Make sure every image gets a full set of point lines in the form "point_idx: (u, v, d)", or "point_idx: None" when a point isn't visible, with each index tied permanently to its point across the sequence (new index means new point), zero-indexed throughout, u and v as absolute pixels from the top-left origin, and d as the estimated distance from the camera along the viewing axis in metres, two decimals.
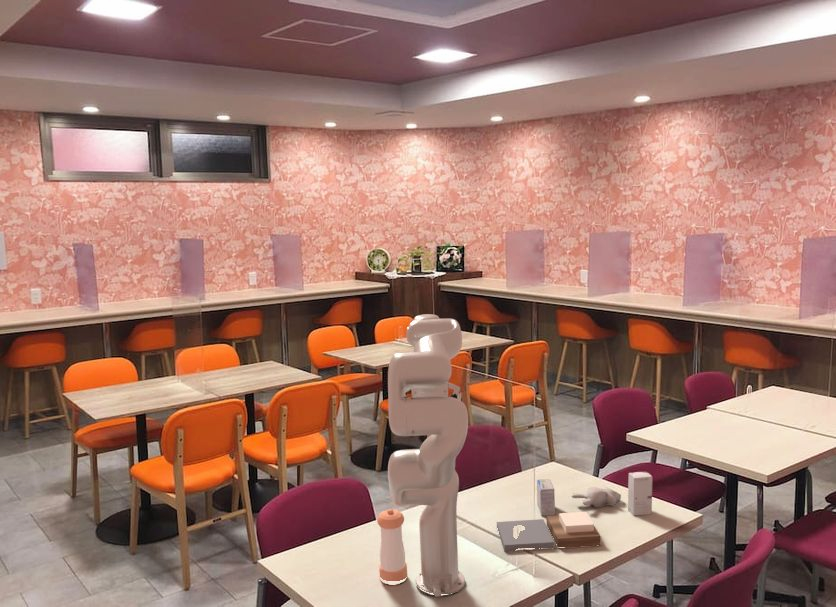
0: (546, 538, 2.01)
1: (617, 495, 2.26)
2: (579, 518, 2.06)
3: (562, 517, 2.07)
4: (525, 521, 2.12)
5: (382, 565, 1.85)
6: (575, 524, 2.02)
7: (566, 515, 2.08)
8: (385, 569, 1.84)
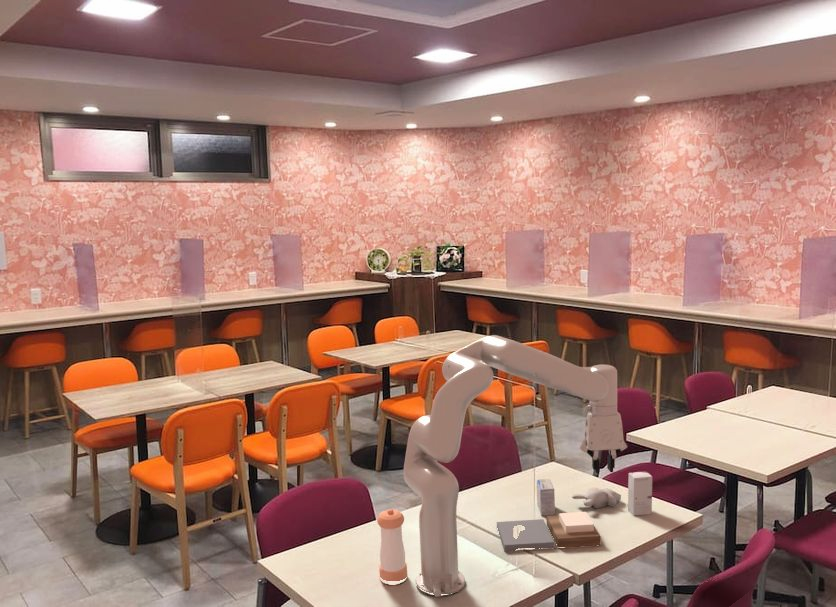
0: (546, 538, 2.01)
1: (617, 495, 2.25)
2: (579, 518, 2.06)
3: (562, 517, 2.07)
4: (525, 521, 2.12)
5: (382, 565, 1.85)
6: (575, 524, 2.02)
7: (566, 515, 2.08)
8: (385, 569, 1.84)
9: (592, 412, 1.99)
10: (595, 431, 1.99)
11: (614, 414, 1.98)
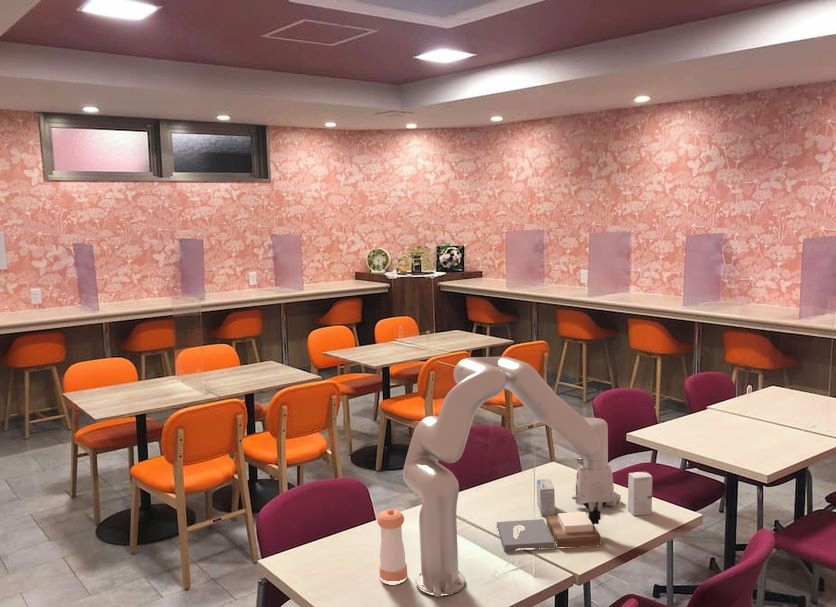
0: (546, 538, 2.01)
1: (617, 496, 2.25)
2: (578, 518, 2.06)
3: (561, 517, 2.07)
4: (525, 521, 2.12)
5: (382, 565, 1.85)
6: (574, 524, 2.02)
7: (565, 515, 2.08)
8: (385, 569, 1.84)
9: (583, 465, 2.02)
10: (586, 484, 2.01)
11: (605, 468, 2.00)
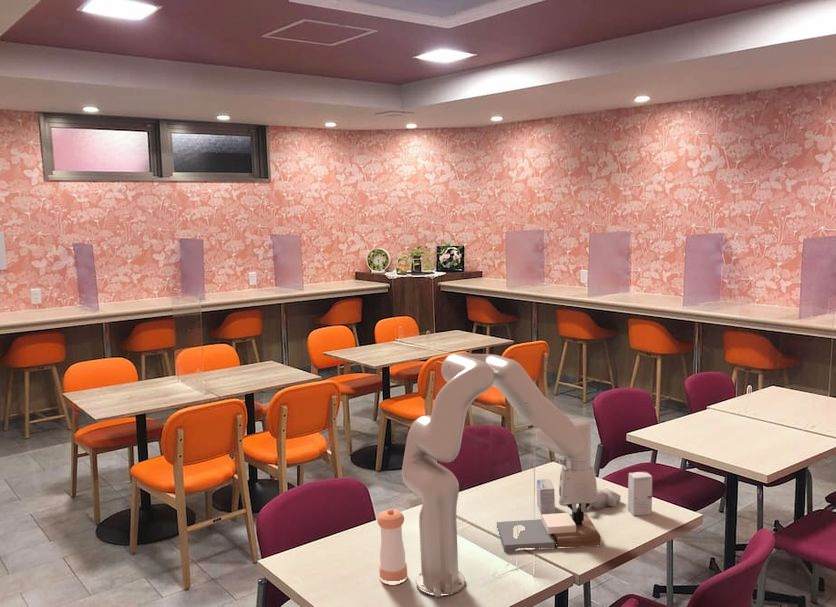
0: (546, 538, 2.01)
1: (617, 496, 2.25)
2: (561, 519, 2.05)
3: (544, 518, 2.06)
4: (525, 521, 2.12)
5: (382, 565, 1.85)
6: (557, 525, 2.02)
7: (548, 516, 2.07)
8: (385, 569, 1.84)
9: (566, 466, 2.01)
10: (569, 485, 2.01)
11: (588, 469, 2.00)
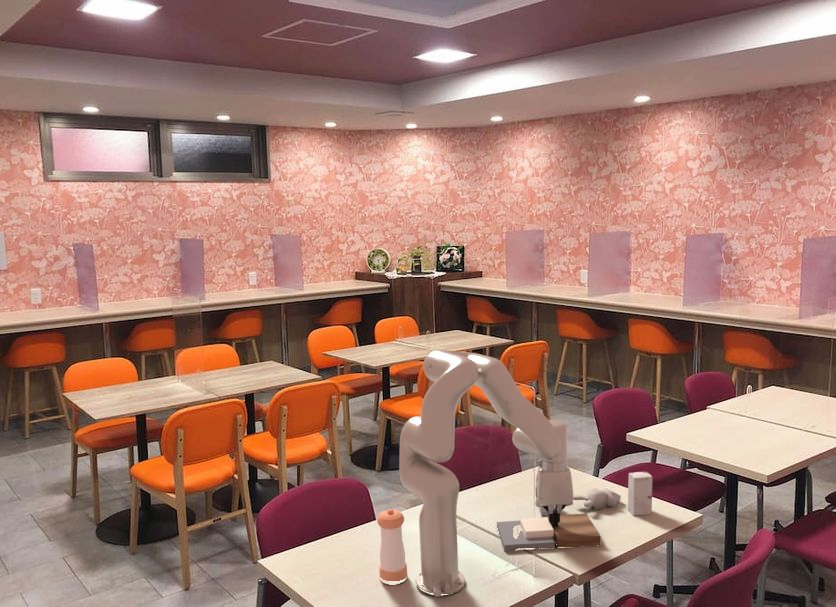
0: (546, 538, 2.01)
1: (617, 496, 2.25)
2: (540, 524, 2.05)
3: (523, 522, 2.07)
4: None
5: (382, 565, 1.85)
6: (535, 530, 2.02)
7: (527, 521, 2.08)
8: (385, 569, 1.84)
9: (542, 468, 2.01)
10: (545, 487, 2.01)
11: (564, 470, 2.00)
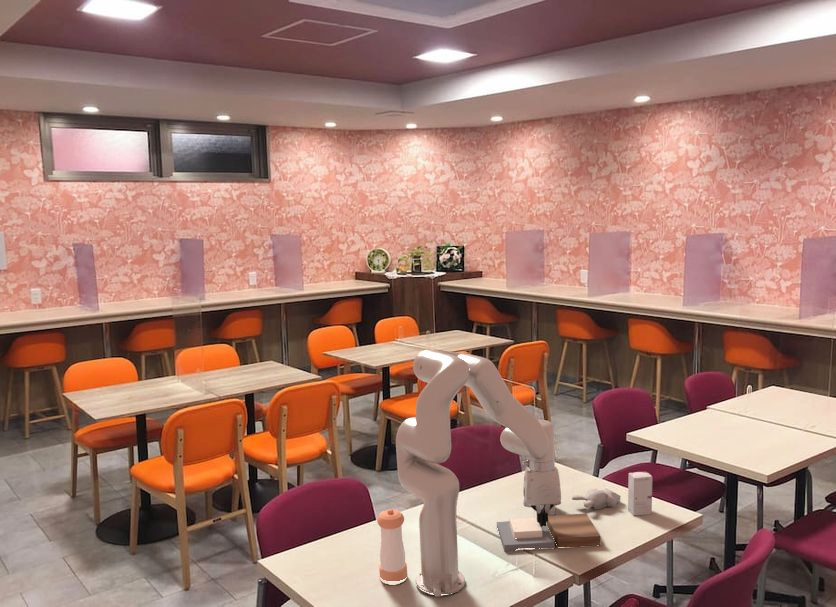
0: (546, 538, 2.01)
1: (617, 496, 2.25)
2: (528, 524, 2.05)
3: (512, 523, 2.07)
4: None
5: (382, 565, 1.85)
6: (524, 530, 2.02)
7: (516, 521, 2.08)
8: (385, 569, 1.84)
9: (529, 467, 2.01)
10: (532, 486, 2.01)
11: (551, 470, 2.00)
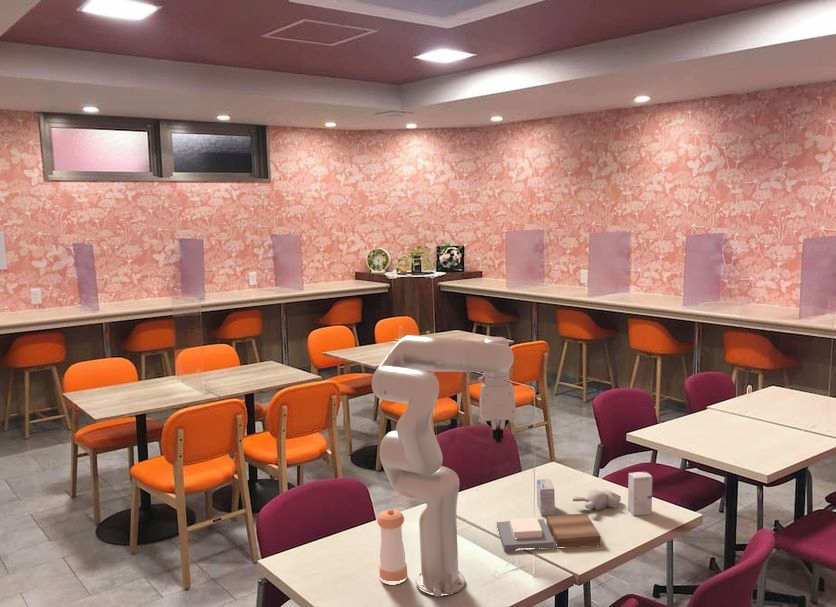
0: (546, 538, 2.01)
1: (617, 497, 2.24)
2: (528, 524, 2.05)
3: (512, 523, 2.07)
4: None
5: (382, 565, 1.85)
6: (523, 530, 2.02)
7: (516, 521, 2.08)
8: (385, 569, 1.84)
9: (485, 383, 2.04)
10: (487, 402, 2.03)
11: (506, 385, 2.03)
